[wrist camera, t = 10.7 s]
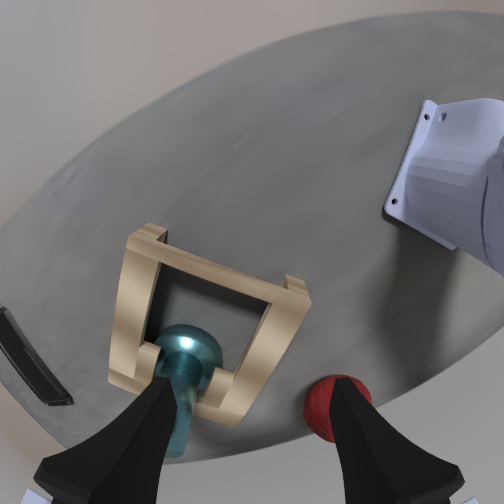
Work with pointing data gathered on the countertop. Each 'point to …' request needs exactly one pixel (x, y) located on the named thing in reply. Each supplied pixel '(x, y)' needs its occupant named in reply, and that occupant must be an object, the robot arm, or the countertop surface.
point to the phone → (29, 363)
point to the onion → (325, 405)
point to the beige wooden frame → (222, 381)
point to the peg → (186, 373)
